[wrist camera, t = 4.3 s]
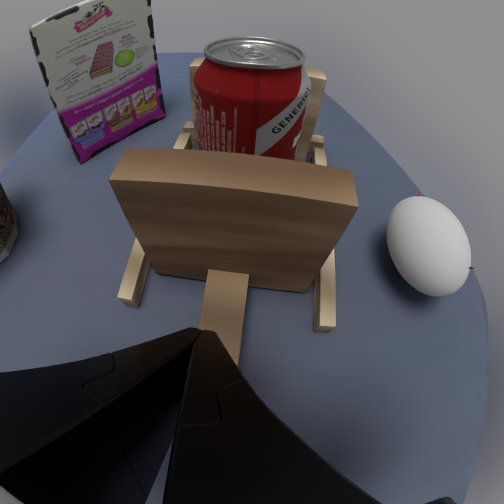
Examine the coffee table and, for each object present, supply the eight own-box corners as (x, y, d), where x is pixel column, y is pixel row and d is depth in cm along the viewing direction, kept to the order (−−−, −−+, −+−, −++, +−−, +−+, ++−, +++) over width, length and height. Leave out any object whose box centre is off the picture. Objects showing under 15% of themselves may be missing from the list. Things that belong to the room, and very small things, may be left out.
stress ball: (455, 282, 19) (504, 245, 13) (403, 328, 17) (463, 295, 11) (411, 216, 22) (447, 167, 16) (351, 245, 20) (389, 188, 14)
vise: (327, 332, 17) (402, 273, 9) (125, 304, 17) (56, 230, 9) (319, 147, 26) (342, 70, 18) (187, 132, 26) (180, 53, 18)
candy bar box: (148, 103, 29) (132, -15, 14) (167, 117, 27) (153, -19, 13) (69, 147, 24) (27, 26, 10) (79, 166, 23) (28, 26, 8)
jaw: (298, 400, 14) (368, 403, 6) (133, 375, 14) (45, 349, 6) (305, 265, 19) (352, 171, 11) (163, 247, 19) (126, 147, 11)
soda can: (223, 235, 20) (221, 77, 9) (191, 175, 23) (177, 42, 12) (301, 204, 22) (342, 67, 11) (260, 153, 24) (275, 32, 14)
